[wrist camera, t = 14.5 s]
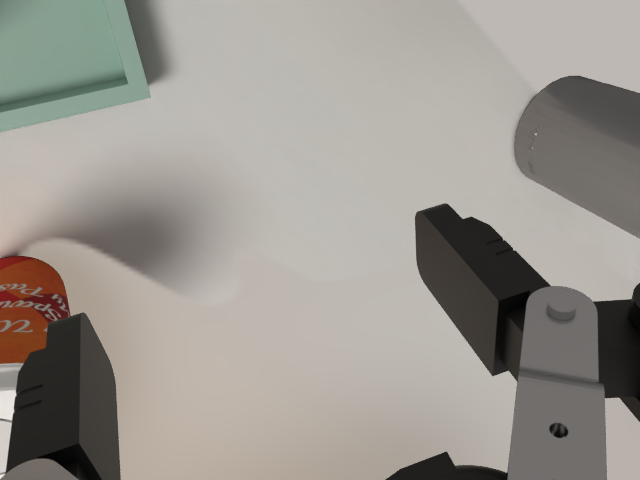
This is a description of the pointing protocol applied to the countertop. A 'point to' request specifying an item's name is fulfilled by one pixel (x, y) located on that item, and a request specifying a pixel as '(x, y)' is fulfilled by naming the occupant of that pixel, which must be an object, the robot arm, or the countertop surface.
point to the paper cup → (24, 326)
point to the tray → (65, 59)
